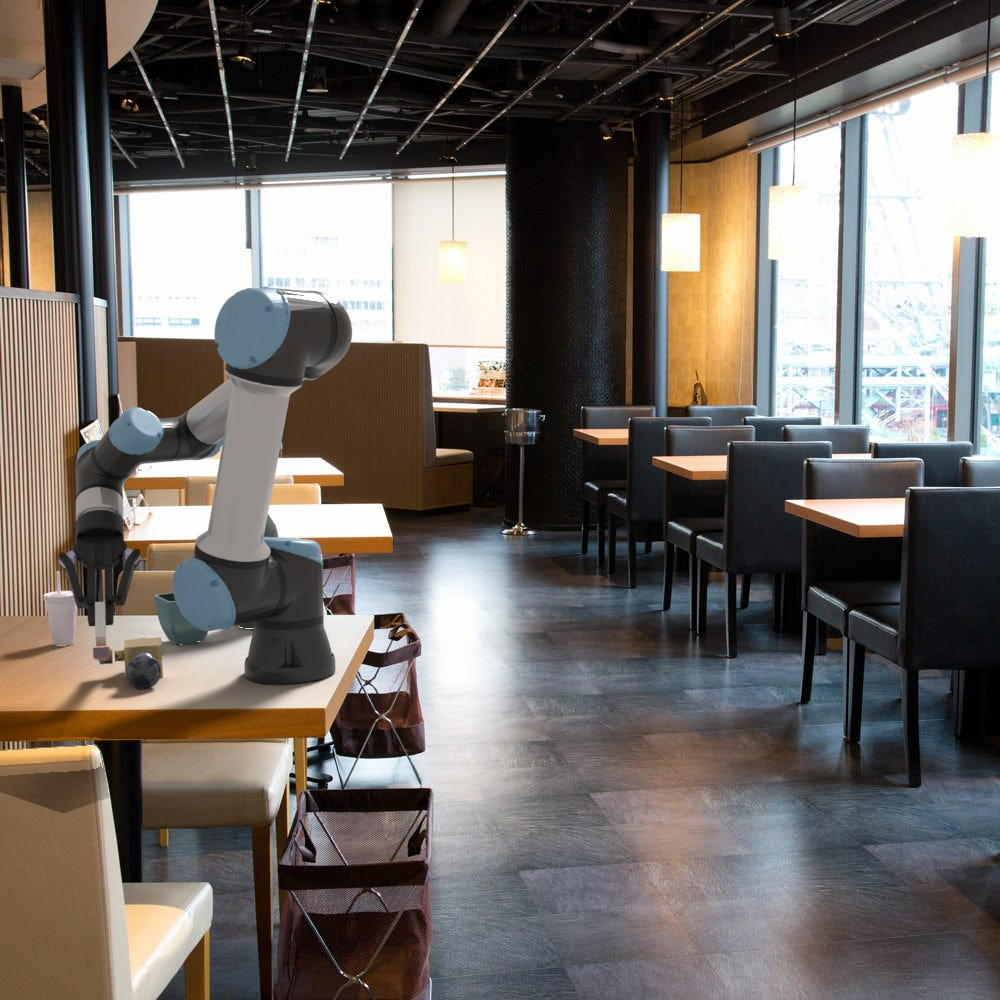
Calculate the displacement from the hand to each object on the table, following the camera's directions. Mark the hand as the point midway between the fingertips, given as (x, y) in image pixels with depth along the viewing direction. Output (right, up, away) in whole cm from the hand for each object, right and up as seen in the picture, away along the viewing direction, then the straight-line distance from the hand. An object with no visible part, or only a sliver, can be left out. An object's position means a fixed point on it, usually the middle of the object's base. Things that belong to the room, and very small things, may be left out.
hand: (100, 641), depth 185 cm
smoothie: (-21, -6, +41) cm, 46 cm away
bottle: (+13, -4, +55) cm, 57 cm away
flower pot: (+2, -5, +42) cm, 42 cm away
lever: (-5, -5, +17) cm, 18 cm away
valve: (+2, -8, +15) cm, 17 cm away
